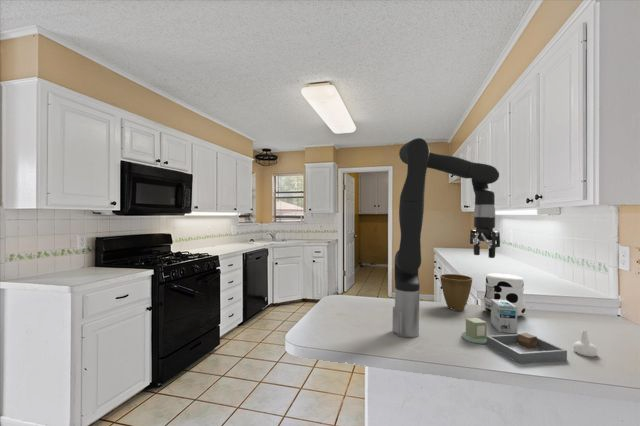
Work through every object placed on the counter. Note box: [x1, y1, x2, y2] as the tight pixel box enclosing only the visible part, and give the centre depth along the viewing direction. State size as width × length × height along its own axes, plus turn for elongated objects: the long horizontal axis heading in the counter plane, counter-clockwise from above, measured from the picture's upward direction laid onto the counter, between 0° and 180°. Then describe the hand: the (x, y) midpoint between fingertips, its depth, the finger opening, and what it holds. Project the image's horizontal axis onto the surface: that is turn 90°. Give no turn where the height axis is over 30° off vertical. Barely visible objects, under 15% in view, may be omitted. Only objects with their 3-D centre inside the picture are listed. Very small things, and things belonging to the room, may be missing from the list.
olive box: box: [465, 317, 488, 339], centre depth 116 cm, size 5×5×6 cm
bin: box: [486, 333, 568, 364], centre depth 105 cm, size 18×15×3 cm
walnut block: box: [517, 332, 538, 350], centre depth 110 cm, size 4×4×4 cm
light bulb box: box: [490, 299, 518, 334], centre depth 127 cm, size 11×7×11 cm, turn 168°
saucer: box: [461, 331, 488, 345], centre depth 116 cm, size 10×10×1 cm
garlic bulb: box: [572, 330, 599, 358], centre depth 105 cm, size 6×6×8 cm
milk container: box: [482, 273, 526, 318], centre depth 147 cm, size 17×17×18 cm
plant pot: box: [439, 273, 473, 311], centre depth 155 cm, size 15×15×16 cm
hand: (483, 256), depth 124 cm, fingers open, 8 cm apart
